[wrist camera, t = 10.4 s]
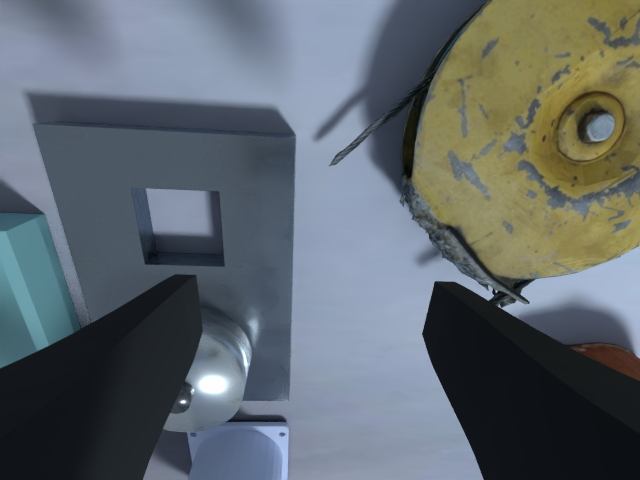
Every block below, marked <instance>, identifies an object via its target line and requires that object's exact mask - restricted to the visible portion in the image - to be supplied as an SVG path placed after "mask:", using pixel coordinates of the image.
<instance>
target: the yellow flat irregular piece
mask: <svg viewBox="0 0 640 480" xmlns="http://www.w3.org/2000/svg"><path fill="white" fill-rule="evenodd" d="M412 99H413V101H412V103H411V106H410V108H409V111H408V115H407V119H406V123H405V127H404V131H403V140H402V150H401V165H402V176H401V189H402V197H401V200H400V203H401V204H402V206H403V207H404V200H405V201H406V202H407V203H408V204H409V205H410V212H412V213H413V215H414V216H413V218H412V219H413V220H415V221H417V222H418V223H419V226H420V227H423V229H424V230H426V232H427V233H428V234H429V239H430V241H431V242H432V244H433V245H434V246H435V247H437V248H439V249H440V250H441V251H442V254H443V256H442V258H446V259H447V260H449V261H450V262H452V263H453V264H454V265H455V266H456V267H457V268H458V269H459V271H460V272H461V273H463V274H465V275H467V276H469V277H471V278H473V279H475V280H476V281H477V282H478V283H479V284H480V285H482V286H483V287H485V288H486V289H487V290H488V285H489V286H491V287H493V291H492V293H493V294H494V297H493V298H492V299H491V300H489V302H491V303H493V304H494V305H496V306H498V305H499V304H500V306H501V308H502V307H504V306H506V305H509V304H512V303H515V302H516V300H518V301H520V302H522V303H524V304H529V303H530V302H529V301H528V300H527V299H525V298H524V297H523V296H521V295H520V293H521V290H522V288H524V287H525V286H527V285H528V284H530V283H531V282H532V281H534V280H535V279H538V278H547V277H556V276H562V275H568V274H573V273H577V272H580V271H583V270H585V269H588V268H591V267H594V266H596V265H599V264H602V263H605V262H607V261H610V260H613V259H615V258H618V257H620V256H621V255H623V254H625V253H627V252H629V251H630V250H632V249H634V248H636V247H638V246H640V0H489V1H488V2H486V3H485V4H483V5H482V6H480V7H479V8H478V9H476V10H475V11H474V12H473V13H472V14H470V15H469V16H468V17H467V18H466V19H465V20H464V21H463V22H462V23H461V24H460V25H459V26H458V27H457V28H456V30H455V31H454V32H453V33H452V35H451V36H450V37H449V38H448V40H447V41H446V42H445V43H444V44H443V46H442V47H441V48H440V49H439V51H438V52H437V54H436V55H435V57H434V59H433V61H432V62H431V64H430V66H429V67H428V69H427V71H426V72H425V74H424V76H423V77H422V79H421V81H420V83H419V84H417V85H416V86H415V87H414V88H413V89H412V90H410V91H409V92H408V93H407V94H406V95H405V96H404V97H403V98H401V99H400V100H399V101H398V102H397V103H396V104H395V105H394V106H392V107H391V108H390V109H389V110H388V111H387V112H386V113H384V114H383V115H382V116H381V117H380V118H378V119H377V120H376V121H375V122H374V123H373V124H371V125H370V126H369V127H368V128H367V129H366V130H365V131H364V132H363V133H362V134H361V135H359V136H358V137H357V138H356V139H355V140H354V141H353V142H352V143H351V144H350V145H349V146H347V147H346V148H345V149H344V150H342V151H341V152H339V153H338V154H337V155H336V156H335V158H334V159H333V161H332V162H331V164H330V165H329V166H332V165H335V164H337V163H338V162H339V161H341V160H342V159H343V158H344V157H345V156H346V155H348V154H349V153H350V152H351V151H352V150H354V149H355V148H356V147H357V146H358V145H359V144H360V143H361V142H363V141H364V140H365V139H366V138H367V137H368V136H369V135H370V134H371V133H372V132H373V131H375V130H376V129H378V128H379V127H380V126H382V125H383V124H384V123H386V122H388V121H390V120H391V119H392V118H394V117H395V116H396V115H397V114H398V113H399V112H400V111H401V110H402V109H403V108H404V107H405V106H406V105H407V104H408V103H409V102H410V101H411V100H412ZM403 193H404V194H403ZM495 290H499V291H498V292H497V293H496V292H495ZM488 291H489V290H488Z"/></svg>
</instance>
